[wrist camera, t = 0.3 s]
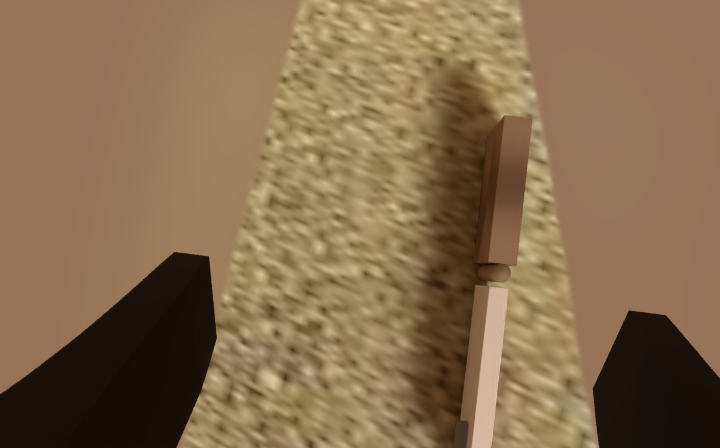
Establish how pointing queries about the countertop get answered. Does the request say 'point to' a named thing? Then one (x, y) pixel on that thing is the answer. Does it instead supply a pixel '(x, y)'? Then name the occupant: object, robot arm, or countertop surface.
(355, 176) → the countertop surface
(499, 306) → the door
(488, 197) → the brown slab
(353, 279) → the countertop surface
